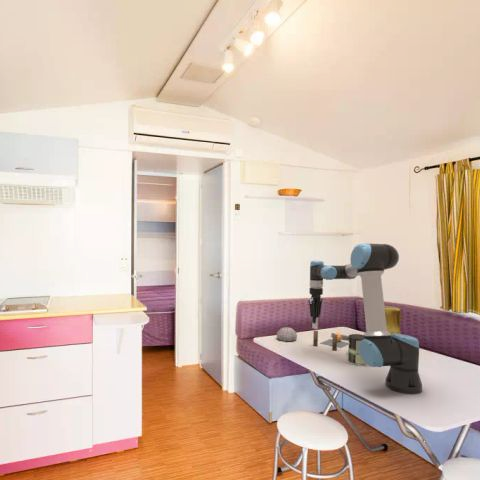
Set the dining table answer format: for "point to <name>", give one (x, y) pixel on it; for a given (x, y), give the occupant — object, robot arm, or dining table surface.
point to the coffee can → (355, 350)
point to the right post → (334, 342)
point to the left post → (315, 338)
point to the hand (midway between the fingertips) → (315, 328)
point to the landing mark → (339, 344)
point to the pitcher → (393, 319)
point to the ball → (338, 337)
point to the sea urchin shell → (286, 334)
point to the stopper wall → (342, 336)
